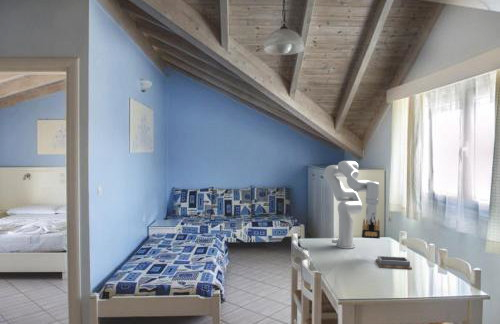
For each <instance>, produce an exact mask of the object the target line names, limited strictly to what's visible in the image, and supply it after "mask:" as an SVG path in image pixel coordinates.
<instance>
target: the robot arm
mask: <svg viewBox="0 0 500 324" xmlns="http://www.w3.org/2000/svg"><path fill="white" fill-rule="evenodd" d="M324 176H325V179H326V181H327V182H326V183H328V185H329V186H330V188H331V192H332V193H333V196H334V198H335V200H336V201H337V202H339V203H338V205H337V212H338V238H337V239H336V240H335V239H331V243H333V244H335V246H336V247H337V248H340V249H348V250H349V249H355V247H356V246H355V244H354V240H353V239H354V220H353V218H352V217H351V216H353V215H360V214H362V213H363V211H364V210H363V203H362V200H361V199H360V197H359V194H358V193H362V192H365V204H366V209H365V218H366V219H367V220H368V225H369V231H374V223H375V220H376V221H377V211H378V210H377V207H378V206H377V205H379V199H380V198H379V197H380V196H379V195H380V183H379V182H378V181H374V180H369V179H357V178H358V177H359V163H357V162H356V161H355V160H342V161H339V162H338V164H331V165H328V166H326V167H325V169H324ZM338 177H340V178H341V177H345V178H346V183H347V186H348V187H345V186H344V184H343V182H342V181H341V180H340V178H338ZM369 219H370V220H369Z"/></svg>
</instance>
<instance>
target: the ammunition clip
mask: <svg viewBox="0 0 500 324" xmlns="http://www.w3.org/2000/svg"><path fill="white" fill-rule="evenodd" d="M362 220H363V221H362V228H361V229H362V231H361V238H364V239H381V238H380V237H381V234H380V233H381V231H380V229H381V228H380V227H381V226H380V224H381V223H380V218H379V219H376V220H374V231H369V225H368V224H369V223H368V219H367V218H366V219H365V218H363V219H362ZM369 220H370V219H369Z"/></svg>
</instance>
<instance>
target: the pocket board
mask: <svg viewBox="0 0 500 324" xmlns="http://www.w3.org/2000/svg"><path fill="white" fill-rule="evenodd" d="M375 262H376V263H377V264H378V266H379V268H382V269H383V268H384V269H398V270H399V269H402V270H403V269H404V270H412V269H413V267H412V266H411V261H410V260H409V259H408V258H407V257H404V256H385V255H384V256H382V255H377V258H375Z"/></svg>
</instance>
